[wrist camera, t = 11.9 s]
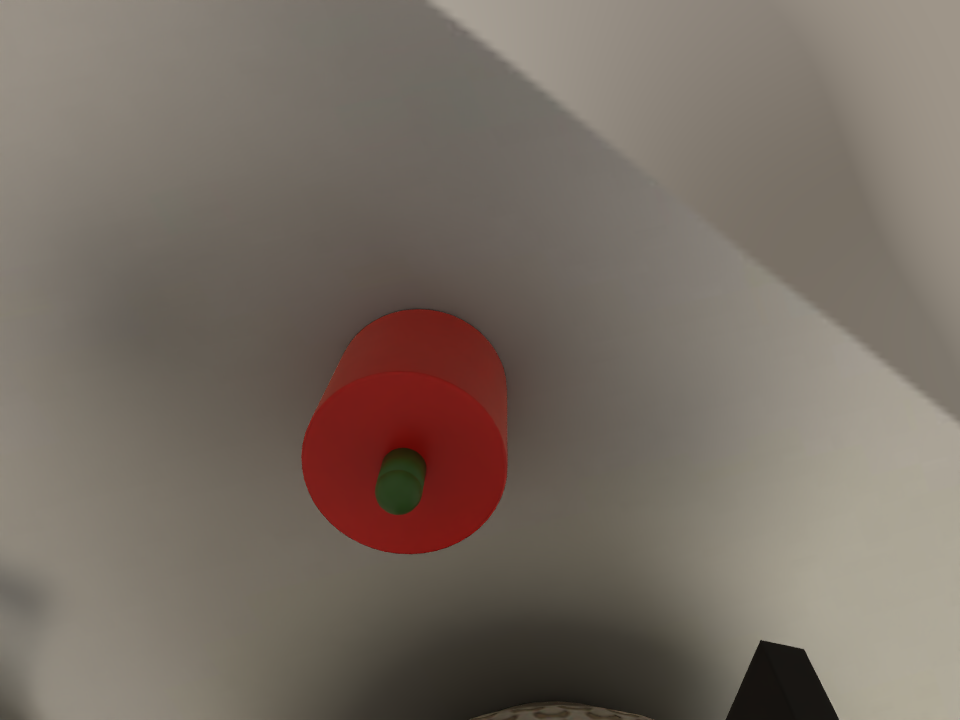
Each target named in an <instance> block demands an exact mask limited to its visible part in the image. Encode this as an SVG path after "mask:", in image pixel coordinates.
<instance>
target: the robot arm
mask: <svg viewBox="0 0 960 720" xmlns="http://www.w3.org/2000/svg"><path fill="white" fill-rule="evenodd" d="M726 720H839V718H838V716H837V714H836V712H835V710H834V708H833V706H832V704H831V702H830V700H829V698H828V696H827V694H826V692H825V690H824V688H823V686H822V684H821V682H820V680H819V678H818V676H817V674H816V672H815V670H814V668H813V666H812V664H811V662H810V660H809V658H808V656H807V654H806V652H805V650H804V649H800V648H795V647H791V646H786V645H781V644H776V643H771V642H767V641H762V640H760V643H759V645H758V647H757V649H756V652H755V654H754V656H753V659H752V661H751V663H750V665H749V668H748V670H747V672H746V674H745V677H744V679H743V681H742V684H741V686H740V688H739V690H738V693H737V695H736V697H735V699H734V702H733V704H732V706H731V709H730V711H729V713H728V715H727V718H726Z"/></svg>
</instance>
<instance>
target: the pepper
mask: <svg viewBox="0 0 960 720" xmlns="http://www.w3.org/2000/svg"><path fill="white" fill-rule="evenodd" d="M301 458H302V470H303V475H304V480H305V483H306V486H307V489H308V491H309V494H310V495H311V497H312V499H313V501H314V503H315V505H316V506H317V508H318V509H319V510H320V512H321V513H322V514H323V516H324V517H325V518H326V519H327V520H328V521H329V522H330V523H331V524H332V525H333V526H334V527H336V528H337V529H338V530H339V531H340V532H342V533H343V534H345V535H346V536H348V537H349V538H351V539H353V540H355V541H357V542H359V543H360V544H363V545H365V546H368V547H371V548H373V549H377V550H381V551H384V552H391V553H397V554H420V553H427V552H433V551H437V550H440V549H444V548H447V547H449V546H452V545H454V544H456V543H458V542H460V541H462V540H464V539H465V538H467V537H469V536H470V535H471V534H473V533H474V532H475V531H476V530H478V529H479V528H480V527H481V526H482V525H483V524H484V523H485V522H486V521H487V520H488V519H489V517H490V516H491V514H492V513H493V512H494V510H495V509H496V507H497V505H498V503H499V501H500V499H501V497H502V494H503V491H504V489H505V484H506V479H507V468H508V449H507V385H506V377H505V373H504V368H503V366H502V363H501V361H500V358H499V356H498V355H497V353H496V351H495V349H494V348H493V347H492V345H491V344H490V343H489V341H488V340H487V339H486V338H485V337H484V336H483V335H482V334H481V333H480V332H479V331H478V330H476V329H475V328H474V327H473V326H471V325H470V324H468V323H466V322H465V321H463V320H461V319H459V318H457V317H455V316H452V315H450V314H446V313H443V312H440V311H434V310H426V309H412V310H403V311H399V312H394V313H391V314H388V315H385V316H383V317H381V318H379V319H377V320H375V321H373V322H372V323H370V324H369V325H367V326H366V327H365V328H363V329H362V330H361V331H360V332H359V333H358V334H357V335H356V336H355V337H354V339H353V340H352V341H351V342H350V344H349V345H348V347H347V348H346V350H345V352H344V354H343V356H342V358H341V360H340V362H339V364H338V366H337V368H336V370H335V372H334V374H333V376H332V378H331V380H330V382H329V384H328V386H327V388H326V390H325V392H324V394H323V396H322V398H321V400H320V402H319V404H318V406H317V408H316V410H315V412H314V414H313V416H312V418H311V420H310V423H309V425H308V427H307V430H306V432H305V436H304V440H303V445H302V455H301Z"/></svg>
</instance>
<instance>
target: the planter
mask: <svg viewBox="0 0 960 720" xmlns="http://www.w3.org/2000/svg"><path fill="white" fill-rule="evenodd" d="M469 720H654V719H651V718H648V717H645V716H642V715H637V714H632V713H627V712H622V711H617V710H611V709H606V708H600V707H596V706H591V705H586V704H581V703H574V702H559V701H551V702H534V703H528V704H523V705H517V706H513V707H510V708H507V709H503V710H500V711H497V712H494V713H489V714H485V715H482V716H478V717H475V718H472V719H469Z"/></svg>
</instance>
